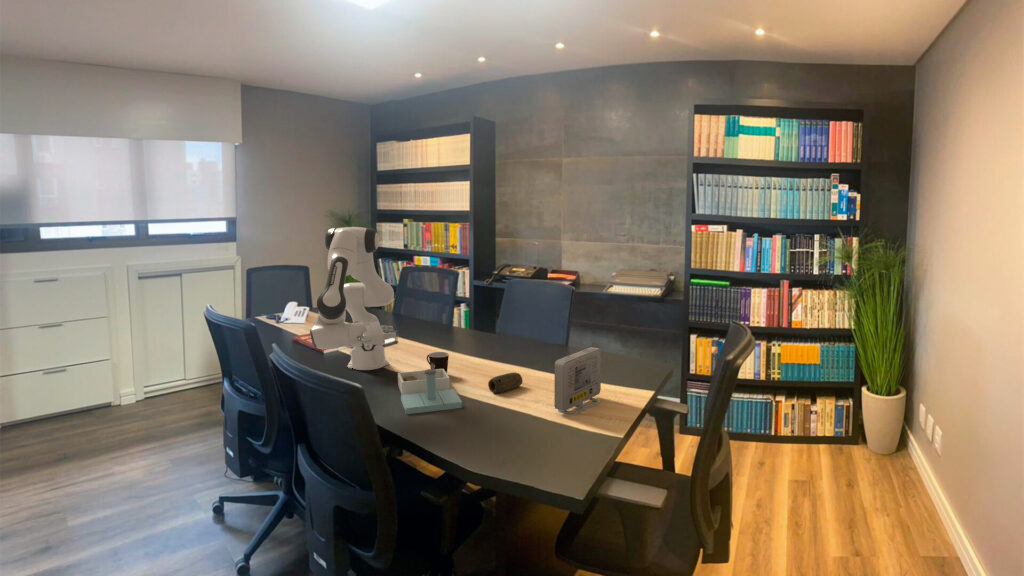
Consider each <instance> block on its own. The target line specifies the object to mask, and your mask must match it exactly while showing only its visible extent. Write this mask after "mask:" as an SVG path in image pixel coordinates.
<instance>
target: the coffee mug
mask: <svg viewBox="0 0 1024 576" xmlns="http://www.w3.org/2000/svg"><path fill="white" fill-rule="evenodd" d="M449 357H450V354H449V353H448V352H446V351H445V352H444V351H434V352H431V353H429V354H428V355H426V361H427V363H428V364H429V367H430V369H444V370H445V372H446V373H447V374H448V365H449Z"/></svg>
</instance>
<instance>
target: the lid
mask: <svg viewBox="0 0 1024 576" xmlns="http://www.w3.org/2000/svg"><path fill="white" fill-rule="evenodd" d="M424 370H425V369H424ZM424 373H425V374H426V392H424V393H415V394H406V395H402V394H401V395H400V401H401V403H402V406H403V408H404V413H405V415H411V414H420V413H428V412H437V411H446V410H447V411H448V410H455V409H462V408H463V407H464V405H463V401H462V399H461V397H460V396H459V394H458V393H457V392H456V390H455V388H454V389H450V390H443V391H435V374H436V370H435V369H431V368H430V369H429V368H426V370H425V371H424ZM463 409H464V408H463Z"/></svg>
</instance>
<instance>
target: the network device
mask: <svg viewBox="0 0 1024 576" xmlns="http://www.w3.org/2000/svg"><path fill="white" fill-rule="evenodd" d="M601 373H602V349H601V348H599V347H598V348H597V347H592V346H591V347H587V348H585V349H583V350H580V351H577V352H575V353H572V354H569V355H567V356H563V357H561V358H559V359H557V360H555V362H554V400H553V401H554V409H556V410H557V411H558V412H559V413H562V414H567V415H569V416H570V415H571V416H575V415H576V416H577V415H579V414H582V413H583V412H585V411H587V410H589V409H591V408H592V407H594V406H596V405H598V404H600V400H599V398H594V397H596V396H598V395H600V393H601V390H602V388H601V387H602V386H601V384H602V383H601V382H602V376H601ZM587 401H593V403H590V404H585V403H584V402H587ZM573 408H579V410H577V411H573V412H572V411H569V410H570V409H573Z"/></svg>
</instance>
